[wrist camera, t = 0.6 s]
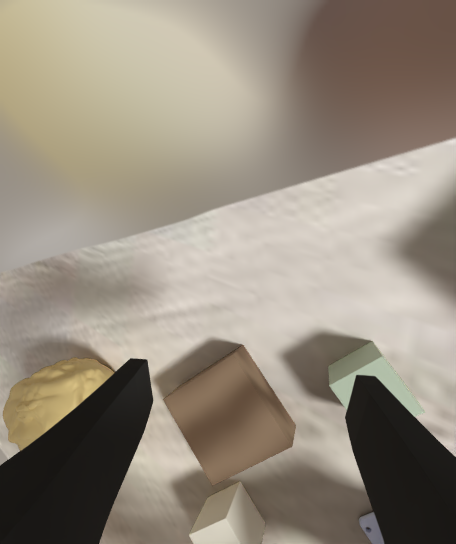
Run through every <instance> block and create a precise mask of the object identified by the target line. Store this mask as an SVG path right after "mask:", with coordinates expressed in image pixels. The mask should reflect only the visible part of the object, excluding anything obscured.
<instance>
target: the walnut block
mask: <svg viewBox="0 0 456 544" xmlns="http://www.w3.org/2000/svg"><path fill="white" fill-rule="evenodd" d="M163 400H164V402H165V404H166V405H167V407H168V409H169V411H170V412H171V414H172V416H173V418H174V419H175V421H176V423H177V425H178V426H179V428H180V430H181V432H182V433H183V435H184V437H185V439H186V440H187V442H188V444H189V446H190V447H191V449H192V451H193V453H194V454H195V456H196V458H197V460H198V461H199V463H200V465H201V467H202V468H203V470H204V472H205V474H206V475H207V477H208V479H209V481H210V482H211V484H212V486H213V485H215V484H217V483H219V482H221V481H223V480H225V479H227V478H229V477H231V476H233V475H235V474H237V473H239V472H241V471H244V470H246V469H248V468H250V467H252V466H254V465H256V464H258V463H260V462H262V461H264V460H266V459H268V458H270V457H272V456H274V455H276V454H278V453H280V452H282V451H284V450H286V449H288V448H290V447H292V445H293V440H294V434H295V428H296V425H295V423H294V422H293V420H292V419H291V417H290V416H289V414H288V413H287V411H286V409H285V408H284V406H283V405H282V403H281V402H280V400H279V399H278V397H277V396H276V394H275V393H274V391H273V390H272V388H271V387H270V385H269V384H268V382H267V380H266V379H265V377H264V376H263V374H262V373H261V371H260V370H259V368H258V367H257V365H256V364H255V362H254V361H253V359H252V358H251V356H250V354H249V353H248V351H247V350H246V348H245V347H244V345H242V346H240V347H239V348H237V349H236V350H234V351H233V352H231V353H230V354H228V355H227V356H225V357H223V358H222V359H220V360H219V361H217V362H216V363H214V364H213V365H211V366H210V367H208V368H207V369H205V370H204V371H202V372H200V373H199V374H197V375H196V376H194V377H193V378H191V379H190V380H188V381H187V382H185V383H184V384H182V385H180V386H179V387H178V388H177V389H175V390H174V391H173V392H172V393H171V394H169V395H168V396H167V397H166V398H164V399H163Z"/></svg>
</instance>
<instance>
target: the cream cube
mask: <svg viewBox="0 0 456 544" xmlns="http://www.w3.org/2000/svg"><path fill="white" fill-rule="evenodd" d="M265 525H266V523H265V522H264V520H263V518H262V517H261V515H260V513H259V512H258V510H257V508H256V507H255V505H254V503H253V502H252V500H251V498H250V497H249V495H248V493H247V492H246V490H245V488H244V487H243V485H242V483H241V482H238V483H236V484H234V485H232V486H230V487H228V488H226V489H223V490H221V491H219V492H217V493H215V494H213V495H211V496H209V497H208V498H207V500H206V502H205V504H204V506H203V508H202V510H201V512H200V514H199V516H198V518H197V520H196V522H195V524H194V526H193V528H192V530H191V532H190V534H189V536H190V538H191V540H192V542H193V544H261V543H262V539H263V534H264V530H265Z"/></svg>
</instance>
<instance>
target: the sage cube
mask: <svg viewBox="0 0 456 544" xmlns="http://www.w3.org/2000/svg"><path fill="white" fill-rule="evenodd" d="M328 373H329V386H330V387H331V389H332V390H333V392H334V393H335V395H336V396H337V397H338V399H339V400H340V402H341V403H342V404H343V406H344V407H345V409H346V410H347V408H348V405H349V401H350V397H351V393H352V389H353V385H354V382H355V378H356V375H368V376H376V377H377V378H378V379H379V380H380V381H381V382H382V383H383V384H384V385H385V387H386V388H387V389H388V390H389V391H390V392H391V393H392V394H393V395H394V396H395V397H396V398H397V399H398V400H399V401H400V402H401V403H402V404H403V405H404V406H405V408H406V409H407V410H408V411H409V412H410V413H411V414H412V415H413V416H414V417H416V416H418V415H420V414H422V413H424V412H425V411H424V410H423V408H422V407H421V405H420V404H419V402H418V401H417V400H416V398H415V397H414V395H413V394H412V393H411V391H410V390H409V388H408V387H407V386H406V384H405V383H404V382H403V380H402V379H401V378H400V376H399V375H398V374H397V373H396V371H395V370H394V369H393V367H392V366H391V365H390V363H389V362H388V361H387V359H386V358H385V357H384V356H383V354H382V353H381V352H380V350H379V349H378V348H377V346H376V345H375V344H374V342H373V341H371V342H370V343H368V344H366V345H364V346H363V347H361V348H359V349H357V350H356V351H354V352H352V353H350V354H349V355H347V356H345V357H343V358H342V359H340V360H338V361H336V362H335V363H333V364H331V365H329V366H328Z"/></svg>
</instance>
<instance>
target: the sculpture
mask: <svg viewBox="0 0 456 544" xmlns="http://www.w3.org/2000/svg"><path fill="white" fill-rule="evenodd" d="M113 374H114V372H113V371H112V370H111V369H109V368H108V367H106V366H104V365H102V364H100V363H99V362H98V361H97V360H94V359H88V358H84V359H78V358H76V357H74V358H71V359H70V360H69V361H66V360H62V361H59V362H57V363H56V364H54V365H51V366H47V367H45V368H42V369H41V370H40V371H39V372H36V373H34V374H33V375H32V376H31V377H30V378H25V379H23V380H22V381H20V382H18V383H17V384H15V385H14V386H13V387H12V388H11V390H10V395H9V398H8V400H7V402H6V404H5V407H4V410H3V419H4V422H5V424H6V427H7V428H8V430H9V433H8V440H9V442H11V443H16V444H17V445H18V447H19V449H20V451H21V450H23V449H24V448H25V447H27V446H28V445H29V444H31V443H32V442H33V441H35V440H36V439H37V438H39V437H40V436H41V435H43V434H44V433H45V432H46V431H48V430H49V429H50V428H51V427H53V426H54V425H55V424H56V423H58V422H59V421H60V420H61V419H62V418H64V417H65V416H66V415H67V414H69V413H70V412H71V411H72V410H73V409H75V408H76V407H77V406H78V405H79V404H80V403H81V402H83V401H84V400H85V399H86V398H87V397H88V396H89V395H91V394H92V393H93V392H94V391H95V390H96V389H97V388H99V387H100V386H101V385H102V384H103V383H104V382H105V381H106V380H107V379H108V378H110V377H111V376H112V375H113Z"/></svg>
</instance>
